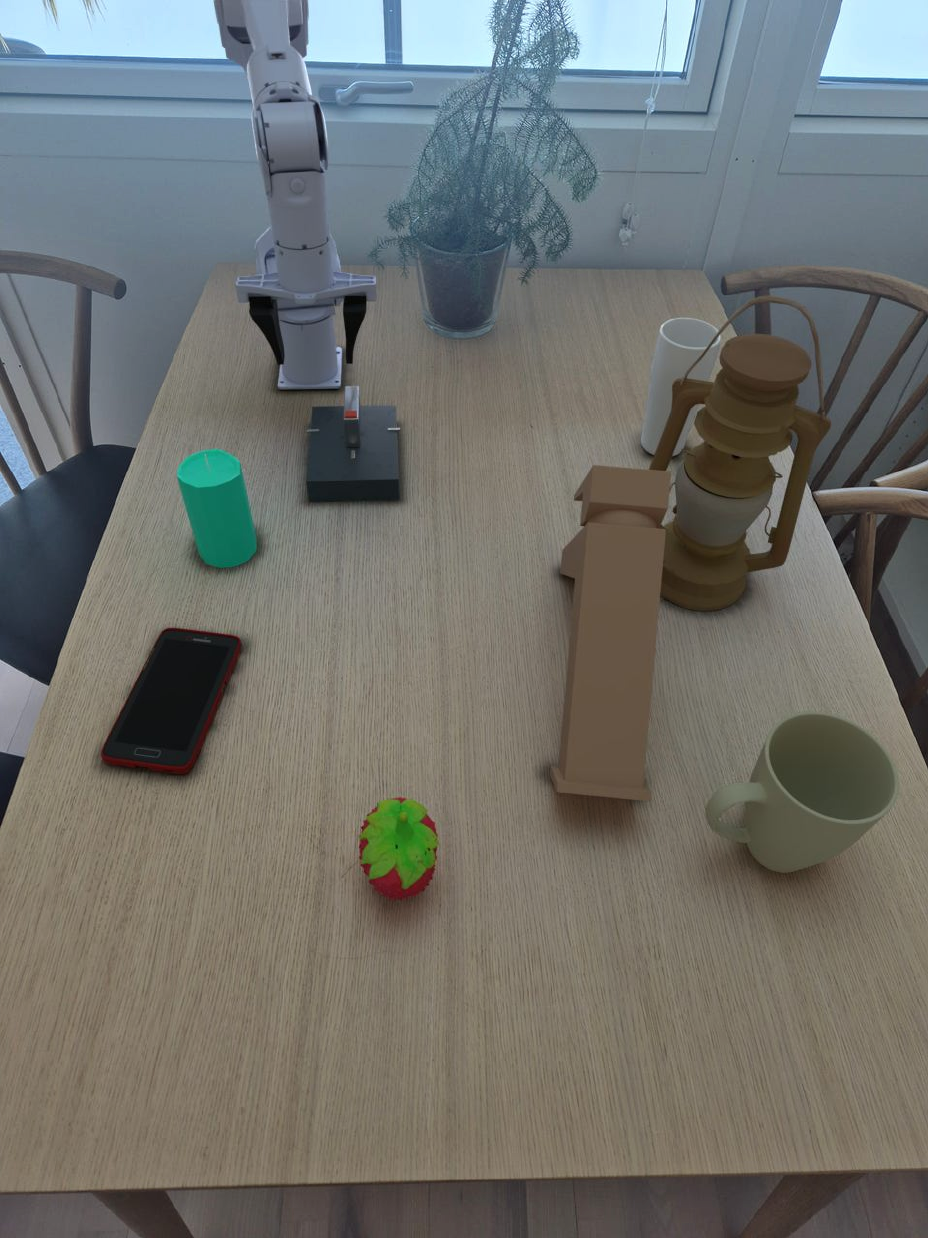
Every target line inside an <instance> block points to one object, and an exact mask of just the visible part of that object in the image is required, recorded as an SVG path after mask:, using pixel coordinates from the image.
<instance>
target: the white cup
mask: <svg viewBox="0 0 928 1238" xmlns="http://www.w3.org/2000/svg"><path fill="white" fill-rule="evenodd" d="M718 332H719V330H718V329H717V328H716V327H715V326H714V325H712V324H710V323H708V322H707V321H704V320H701V319H697V318H692V317H676V318H672V319H669V320H666V321H665V322H664V323H662V324H661V326H660V328H659V332H658V335H657V338H656V341H655V346H654V350H653V354H652V360H651V365H650V372H649V379H648V387H647V394H646V395H647V396H646V404H645V410H644V415H643V416H644V417H643V424H642V429H641V434H640V445H641V447H642V448H643V450H644V451H646V452H647V453H648V454H650V455H653V456H654V454H655V452H656V449H657V447H658V444H659V441H660V439H661V436H662V433H663V431H664V428H665V425H666V423H667V420H668V417H669V415H670V412H671V407H672V385H673V383H674V381H675V380H676V379H678V378H682V377H684V376H685V373H686V372H687V370H688V369H689V368H690V367H691V366H692V365H693V363H694V362H695V361H696V360H697V359H698V358H699V357H700V356H701V355H702V354H703V352H704V351H705V349H706V348H707V347H708V345H709V344H710V343H711V341H712V340H713V339H714V337H715V336H716V334H717V333H718ZM721 334H722V333H721ZM721 334H720V335H719V336H718V338H717V339H716V340H715V342H714V343H713V344H712V346H711V347H710V348H709V350H708V351H707V352H706V354H705V355H704V356H703V358H702V359H701V360H700V361H699V362H698V363H697V364H696V365H695V367H694V368H693V369H692V370H691V371H690V373H689V374H688V376H687V378H688V379H695V380H701V381H708V382H710V381H711V377H712V374H713V371H714V368H715V365H716V362H717V358H718V355H719V352H720V347H721V341H722V335H721ZM700 405H701V404H697V405H695V406H694V407H692V408H691V410H690V412H689V415H688V417H687V420H686V422H685V425H684V427H683V430H682V432H681V435H680V437H679V440H678V442H677V445H676V447H675V450H674V452H673V455H672V457H675V456H677V455H678V456H679V454H680V453H682V452H683V451H682V450H681V449H682V448H685V446H686V443H687V439H688V436H689V433H690V431H691V428H692V426H693V424H694V421H695V418H696V415H697V412H698V411H699V407H700Z"/></svg>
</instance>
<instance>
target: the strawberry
mask: <svg viewBox="0 0 928 1238" xmlns="http://www.w3.org/2000/svg"><path fill="white" fill-rule="evenodd" d="M427 812H428V810H427V808H426V807H425V806H424V805H423V804H421V803H420V802H418V801H416V800H415V799H413V798H406V797H401V796H399V797H391V798H386V799H383V800H380V801H378V802H376V806H375V807H374V808H373V809H371V812H369V813H368V814H366V817H365V819H364V820H362V822H363V825H362V826H360V829H361V833H360V834H359V835H358V838H359V839H360V842H359V845H358V849H359V856H358V859H359V864H360V867H362V868H363V874H364V875H366V876H367V880H368V883H369V885H371V886H373V887H374V891H375V892H377V893H378V894H381V896H382V897H384V898H387V899H389V900H390V901H391V900H393V901H396V900H400V901H401V902H402V901H403V900H405V899H406V900H407V899H409V898H410V897H411V898H413V897H416V896H418V895H419V894H420V893H421V892H424V891H425V888H426V886H427V887H428V886H430V882H431V881H432V880H433V875H434V873H435V871H436V868H435V867H436V861H437V859H438V857H437V851H438V847H439V845H440V842H439V839H438V837H439V836H438V835H439V834H438V832H437V827H436V822H435V821H434V820H432V818H431V817H430V816H429V814H428V813H427Z"/></svg>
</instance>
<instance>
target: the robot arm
mask: <svg viewBox="0 0 928 1238" xmlns="http://www.w3.org/2000/svg"><path fill="white" fill-rule="evenodd" d="M212 2H213V7H214V13H215V20H216V24H217V26H218V30H219V36H220V42H221V48H223V49H224V51H225V52H224V53H225V58H226V59H227V60H230V62H232V63H234V64H236V65H238V66H240V67H242V69H243V71H244V74H245V76H246V78H247V81H248V85H249V91H250V97H251V103H252V108H253V109H252V110H251V125H252V134H253V141H254V146H255V147H254V148H255V153H256V160H257V163H258V166H259V169H260V172H261V176H262V181H263V186H264V191H265V195H266V199H267V207H268V213H269V220H270V221H269V222H270V226H269V227H268V228H267V229H266V230H265V231H264V232H263V233H262V234H261V235H260V236H259V238H258V239H256V241H255V246H254V247H253V248H254V249H253V250H254V255H255V262H254V264H255V269H256V275H247V276H245V275H244V276H237V277H236V281H235V289H236V295H237V301H238V303H240V304H241V303H242V304H243V303H244V304H245V303H249V305H248V306H249V310H248V313H249V316H250V318H251V320H252V321H253V323H255V325H256V326H257V327H258V328H259V330H260V331H261V332H262V334H263V336H264V338H265V339H266V341H267V343H268V345H269V346H270V349H271V350H272V354H273V355H274V358H275V361H276V365H278V366H279V373H278V379H277V388H278V389H279V390H331V389H333V390H335V389H337V390H338V389H340V388H341V387H342V367H343V348H342V347H340V346H337V341H336V331H335V320H334V316H335V315H336V307H340V306H341V304H342V317H343V326H344V335H345V363H346V364H347V365H352V364H353V363H354V350H355V345H356V340H357V337H358V334H359V331H360V329H361V327H362V324H363V322H364V321H365V317H366V314H367V310H368V308H367V307H368V306H367V305H368V304H367V302H369V303H371V302H373V303H375V302H378V300H377V298H378V296H377V294H378V293H377V276H376V275H362V274H356V273H348V272H343V271H342V267H341V262H340V258H339V256H338V249H337V244H336V243H337V242H336V241H335V240H334V238H333V236H332V235H331V232H330V222H329V221H330V219H329V211H328V201H327V200H328V198H327V188H326V186H327V185H326V178H325V177H326V176H325V171H328V167H329V141H328V139H329V138H328V131H327V125H326V118H325V115H324V112H323V108H322V105H321V102H320V99H319V98H318V97H317V95H316V94H313V92H312V87H311V83H310V78H309V74H308V70H307V65H306V62H305V60H304V59H305V58H306V57H307V56H308V45H309V41H310V40H309V19H310V10H309V0H213V1H212ZM321 163H322V164H323V168H322V166H321ZM324 170H325V171H324Z"/></svg>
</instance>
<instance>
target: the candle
mask: <svg viewBox="0 0 928 1238" xmlns="http://www.w3.org/2000/svg"><path fill="white" fill-rule="evenodd" d="M176 478H177V482H178V486H179V489H180V493H181V496H182V500H183V503H184V506H185V510H186V513H187V517H188V520H189V524H190V527H191V530H192V535H193V537H194V542H195V544H196V545H195V546H196V549H197V552H198V555H199V557H200V558H201V559H202V560H203V561H204V563H205V564H206V565H209V566H211V567H215V568H218V569H224V568H236V567H238V566H240V565H242V564H244V563H247V562H249V561H250V560H251V558H252V557H253V556H254V555H255V554H256V552H257V548H258V546H257V545H258V539H257V536H256V529H255V526H254V520H253V517H252V512H251V506H250V502H249V496H248V493H247V492H248V491H247V488H246V484H245V479H244V474H243V469H242V464H241V461H240V459H238V458H237V457H236V456H234V454H231V453H229V452H226V451H225V450H223V449H221V448H211V449H203V450H200V451H198V452H195V453H193V454H190V455H188V456H186V457H185V458H184V460H183V461H182V462H181V463H180V464H179V465H178V467H177V471H176Z"/></svg>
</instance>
